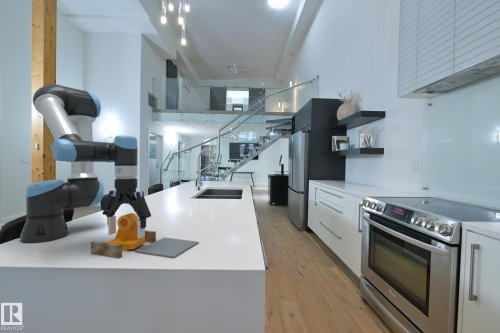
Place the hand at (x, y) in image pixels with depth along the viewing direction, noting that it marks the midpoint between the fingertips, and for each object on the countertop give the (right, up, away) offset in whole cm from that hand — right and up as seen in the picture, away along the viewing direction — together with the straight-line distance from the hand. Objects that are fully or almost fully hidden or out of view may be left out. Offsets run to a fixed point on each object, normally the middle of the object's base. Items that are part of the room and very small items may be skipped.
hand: (126, 235), depth 89 cm
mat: (+15, -5, 0) cm, 16 cm away
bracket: (0, -5, 0) cm, 5 cm away
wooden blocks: (0, -4, 0) cm, 4 cm away
